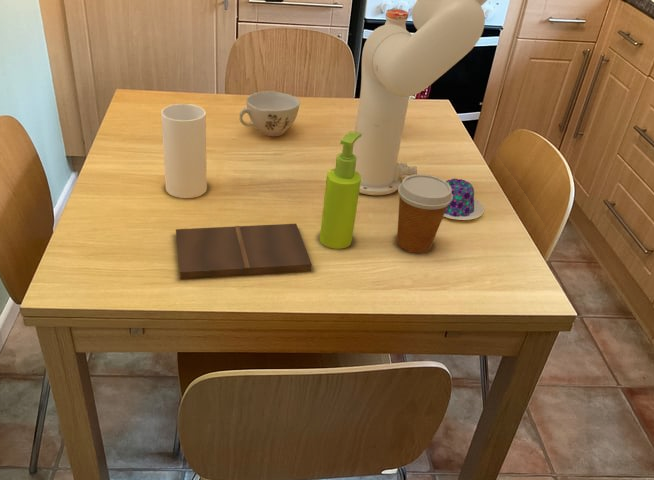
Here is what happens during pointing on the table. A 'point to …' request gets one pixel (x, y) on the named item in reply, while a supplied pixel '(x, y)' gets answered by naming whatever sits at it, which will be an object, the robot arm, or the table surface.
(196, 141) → the cup
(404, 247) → the disposable coffee cup
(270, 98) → the teacup
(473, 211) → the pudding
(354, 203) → the soap dispenser
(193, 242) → the walnut board
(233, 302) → the table surface
